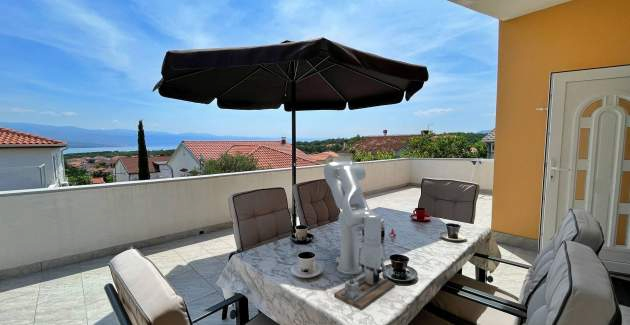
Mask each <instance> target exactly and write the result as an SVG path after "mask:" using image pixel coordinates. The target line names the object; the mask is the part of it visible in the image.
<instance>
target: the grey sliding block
mask: <svg viewBox="0 0 630 325" xmlns="http://www.w3.org/2000/svg"><path fill="white" fill-rule="evenodd" d="M374 275H375V270H374V269H373V268H370V267H368V268H366V269H365V271H364V276H365V282H367V283H369V284H372V285H373V284H375V283H374Z"/></svg>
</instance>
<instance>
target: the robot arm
mask: <svg viewBox="0 0 630 325" xmlns="http://www.w3.org/2000/svg"><path fill="white" fill-rule="evenodd" d="M323 175H324V179H325V181H326V184H328V187H329V188H330V190H331V193H332V196H333V199H334V203H335V205H336V207H337V208H338V209H339V210H341V211H340V212H339V215H338V225H339V230H340V231H339V233H340V237H339V239H340V241H339V242H340V243H339V244H340V253H339V254H340V256H337V257H336V259H335V262H336V263H338V264H337V267H336V268H337V270H338V271H339V273H341V274H345V275H357V274H359V273H361V272H362V269H363V271H364V272H365V269H366V268H368V267H370V268H373V269H374V270H375V275H374V283H375V284H376V283H377V282H379V278H380V274H381V273H383V272H385V271H387V268H386V265H385V259H384V258H385V256H384V249H383V245H382V216H381V214H379V213H376V212H374V211H373V210H372V209H370V208H369V205H368V203H367V201H366V198H365V196H364V195H363V193H362V191H363V189H362V186H361V184H360V181H363V180H364V179H365V178H366V169H365V168H364V166H363V165H361V163H357V162H354V161H353V160H352V161H351V160H334V161H329V162H327V163H325V165H324V167H323ZM359 227H360V228H361V227H363V235H362V237H361V239H362V240H363V242H361V247H360V241H359V239H360V237H359V234H358V232H357V231H356V228H359ZM359 247H360V248H359ZM359 249H360V250H359ZM359 251H360V252H359Z"/></svg>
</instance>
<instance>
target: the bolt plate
mask: <svg viewBox="0 0 630 325" xmlns="http://www.w3.org/2000/svg"><path fill="white" fill-rule="evenodd" d="M395 287H396V283H395V282H392V281H390V280H389V279H388V278H385V279H384V278H382V277H379V282H377V283H376V284H373V285H372V284H369V283H367V282H365V275H364V276H362V277H361V278H359V279H357V280H354V279H349V280H347V281H345V282H344V287H343V288H341V289H339V290H337V291H335V292H334V293H333V297H334V298H336V299H338V300H340V301H342V302H343V303H346V304H348V305H350V306H352V307H354V308H356V309H357V310H360V311H362V310H364V309H365V308H367V307H368V306H369V305H371V304H372V303H374V302H375V301H376V300H378V299H380V298H381V297H382V296H383V295H386V293H388V292H389V291H391V290H392V289H393V288H395Z"/></svg>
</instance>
